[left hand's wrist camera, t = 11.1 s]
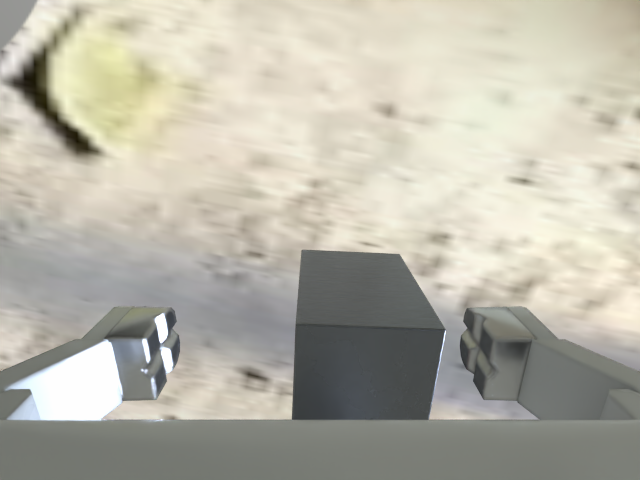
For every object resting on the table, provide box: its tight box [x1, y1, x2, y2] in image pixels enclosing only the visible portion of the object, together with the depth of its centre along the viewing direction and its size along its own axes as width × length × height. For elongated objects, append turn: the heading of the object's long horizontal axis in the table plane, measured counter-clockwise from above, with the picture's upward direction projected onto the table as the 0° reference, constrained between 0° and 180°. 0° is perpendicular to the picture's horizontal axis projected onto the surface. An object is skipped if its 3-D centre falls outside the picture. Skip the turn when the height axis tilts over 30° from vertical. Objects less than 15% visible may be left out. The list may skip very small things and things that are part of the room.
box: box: [292, 250, 446, 420], centre depth 23 cm, size 24×6×8 cm, turn 177°
